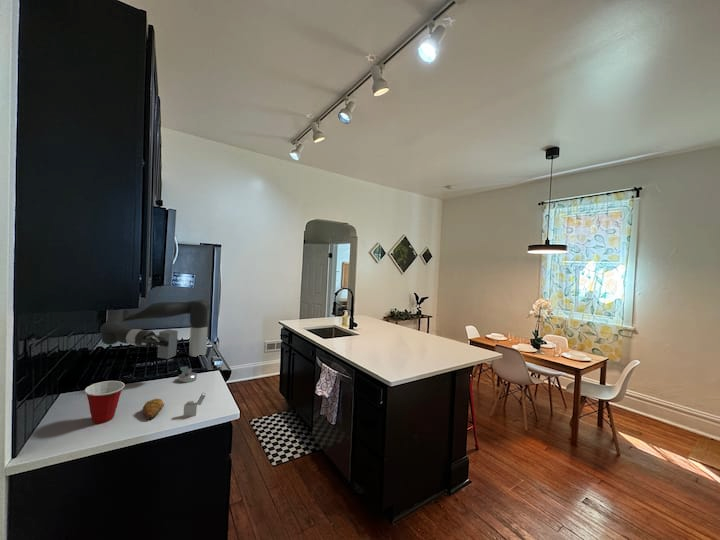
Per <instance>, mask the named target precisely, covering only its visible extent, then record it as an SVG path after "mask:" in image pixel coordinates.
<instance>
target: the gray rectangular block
mask: <svg viewBox="0 0 720 540" xmlns="http://www.w3.org/2000/svg"><path fill="white" fill-rule="evenodd" d="M178 333H179V331H178V330H173V329H165V330H162V331H159V332H158V335H159V340H160V341H166V342H169V346H168V347H165V346H157V354H156V355H157V356H156V357H157V358H159V359H165V360H168V359H171V358H173V357H175V356H177V347H178V346H177V345H178V343H177V339H178Z"/></svg>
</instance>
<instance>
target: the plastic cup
mask: <svg viewBox="0 0 720 540" xmlns="http://www.w3.org/2000/svg"><path fill="white" fill-rule="evenodd" d="M125 387H126V385H125V383H124V382H122V381H121V380H120V381H119V380H107V381H100V382H96V383H92V384H91V385H89V386H86V388H85V389H84V393H85V394H86V396H87V400H88V408H89V413H90V417H91V421H92V423H93V424H98V425H99V424H104V423H107V422H111V420H113V419H114V417H115V416H116V415H115V413H116V412H117V409H118V405H119V401H120V400H119V399H120V396H121V394H122V391H123V389H124V388H125Z"/></svg>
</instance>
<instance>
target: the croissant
mask: <svg viewBox="0 0 720 540" xmlns="http://www.w3.org/2000/svg"><path fill="white" fill-rule="evenodd" d="M164 406H165V403H164V402H163V401H162V399H161V398H154V399H151V400H148V401H146V402H145V404H144V405H143V407H142V411H143V414H144V415H145V417H146V419H147V420H152V419H155V418H156V417H157V416H158V415H159V414H160V412H161V411H162V409H163V407H164Z"/></svg>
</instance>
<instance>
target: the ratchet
mask: <svg viewBox="0 0 720 540" xmlns="http://www.w3.org/2000/svg"><path fill="white" fill-rule="evenodd" d="M181 371H182V372H181ZM180 372H181V373H180V374H179V375H178V383H179V384H188V383H189V384H190V383H193V382H195V381H197V379H198V378H197V376H198V374H197V372H194V371H192V368H191V367H189V366H188V365H187V366H180Z"/></svg>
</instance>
